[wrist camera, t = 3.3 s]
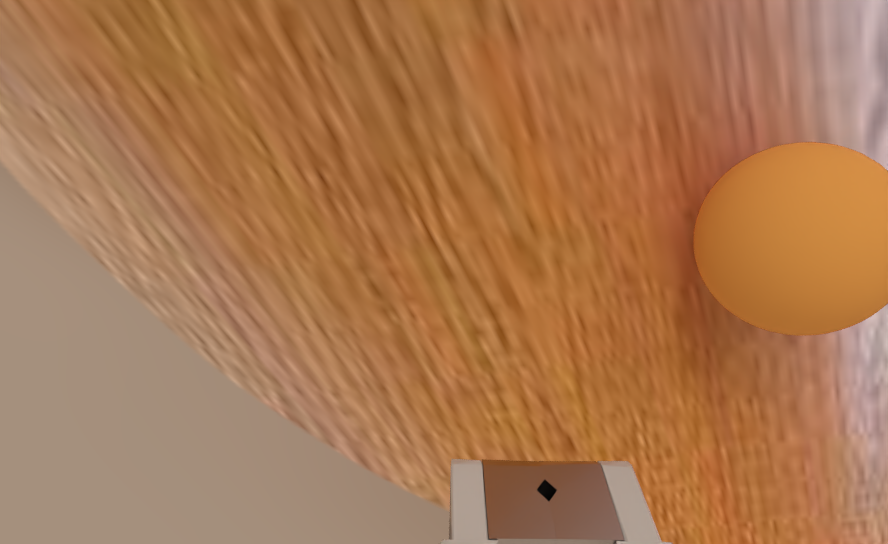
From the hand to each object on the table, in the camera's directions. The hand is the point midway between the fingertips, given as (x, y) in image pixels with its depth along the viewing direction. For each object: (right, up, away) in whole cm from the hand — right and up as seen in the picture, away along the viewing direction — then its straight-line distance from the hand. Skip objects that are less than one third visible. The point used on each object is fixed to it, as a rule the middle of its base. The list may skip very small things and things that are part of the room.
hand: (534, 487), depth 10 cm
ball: (+10, +5, +9) cm, 14 cm away
